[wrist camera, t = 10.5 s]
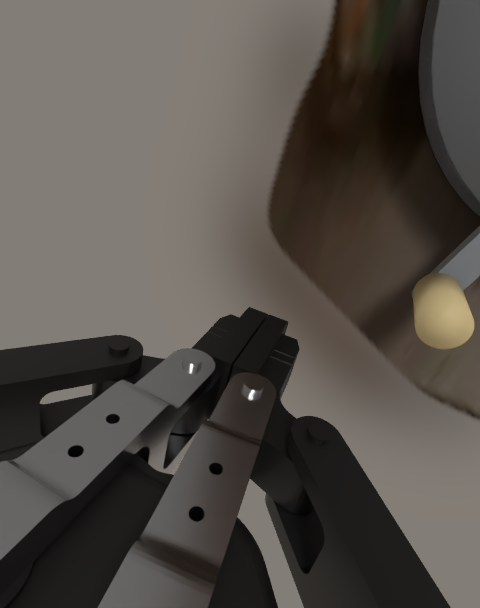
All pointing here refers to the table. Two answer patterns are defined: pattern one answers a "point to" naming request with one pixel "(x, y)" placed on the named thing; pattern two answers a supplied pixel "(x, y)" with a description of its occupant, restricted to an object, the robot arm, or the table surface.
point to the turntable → (467, 162)
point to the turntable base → (428, 110)
